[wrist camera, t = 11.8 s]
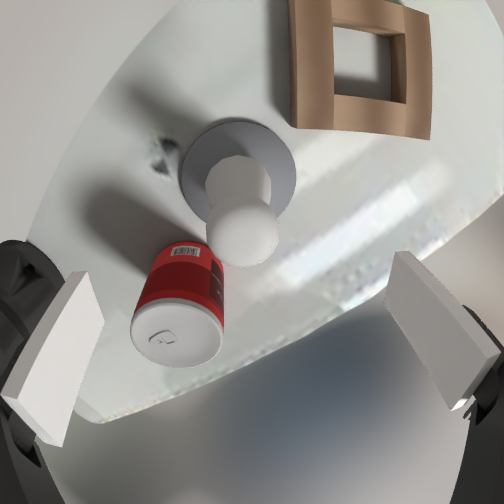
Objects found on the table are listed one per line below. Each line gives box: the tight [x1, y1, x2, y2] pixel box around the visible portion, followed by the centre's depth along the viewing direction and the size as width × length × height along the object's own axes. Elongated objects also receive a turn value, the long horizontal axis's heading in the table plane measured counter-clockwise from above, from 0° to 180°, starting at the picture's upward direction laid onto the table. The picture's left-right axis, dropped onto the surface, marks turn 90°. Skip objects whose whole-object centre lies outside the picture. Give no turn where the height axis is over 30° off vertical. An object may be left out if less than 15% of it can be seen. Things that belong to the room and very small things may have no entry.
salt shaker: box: [205, 155, 279, 268], centre depth 22 cm, size 6×6×13 cm
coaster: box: [181, 122, 296, 223], centre depth 28 cm, size 11×11×1 cm
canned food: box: [130, 241, 224, 368], centre depth 28 cm, size 8×8×11 cm
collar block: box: [288, 0, 432, 140], centre depth 22 cm, size 14×14×3 cm
